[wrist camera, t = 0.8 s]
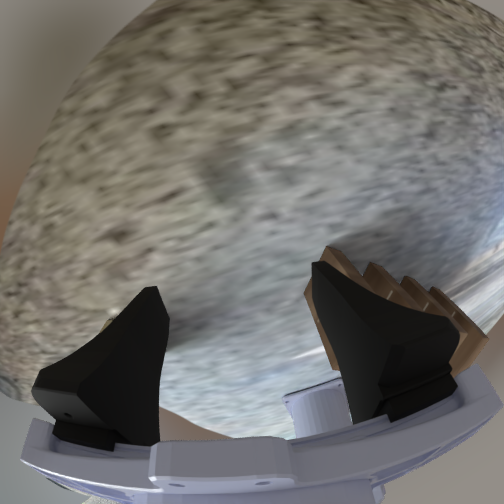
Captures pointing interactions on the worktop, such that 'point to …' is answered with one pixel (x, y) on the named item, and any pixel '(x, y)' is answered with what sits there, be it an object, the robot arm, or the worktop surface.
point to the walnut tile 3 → (429, 303)
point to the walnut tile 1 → (349, 270)
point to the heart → (91, 499)
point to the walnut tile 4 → (473, 339)
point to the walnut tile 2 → (388, 287)
